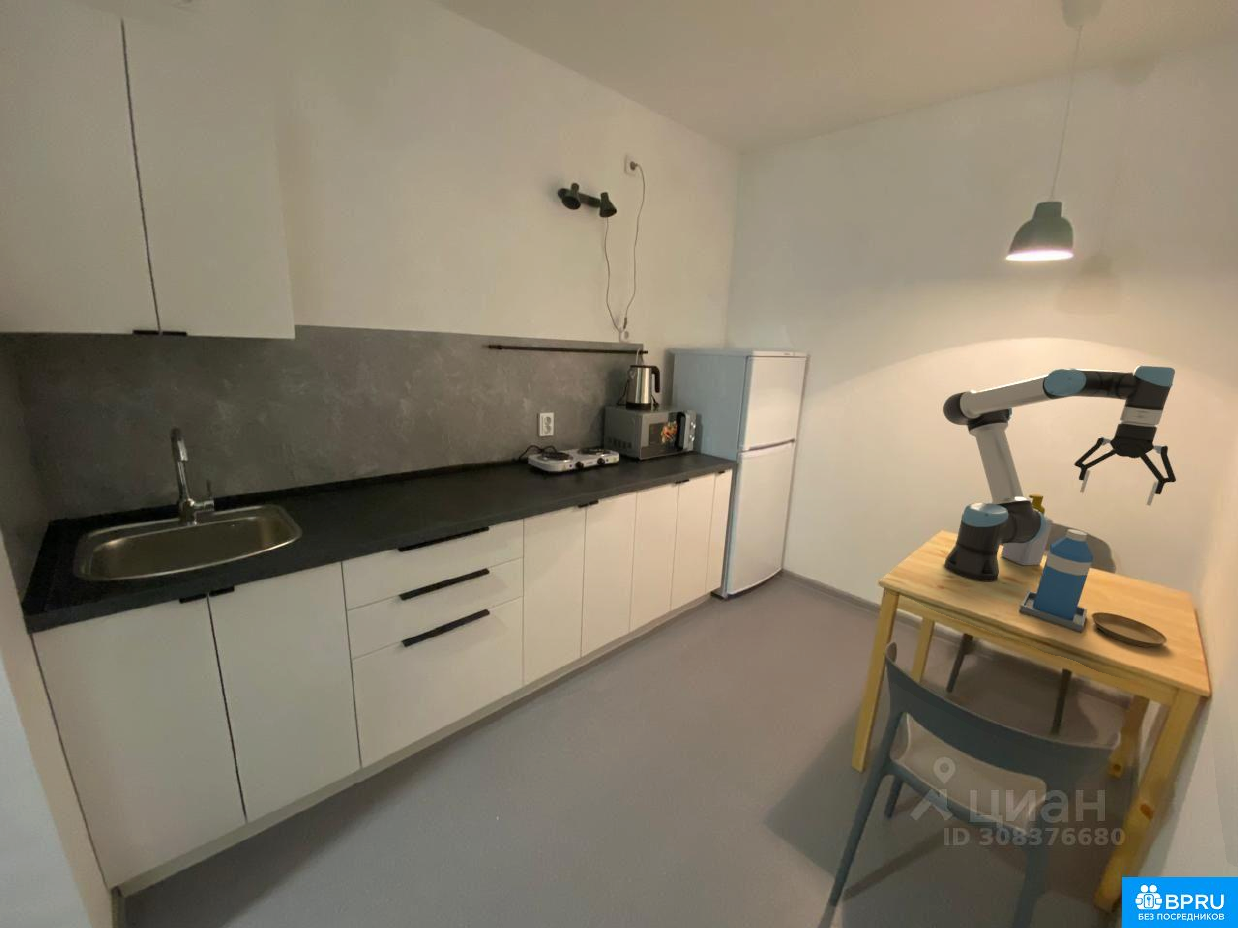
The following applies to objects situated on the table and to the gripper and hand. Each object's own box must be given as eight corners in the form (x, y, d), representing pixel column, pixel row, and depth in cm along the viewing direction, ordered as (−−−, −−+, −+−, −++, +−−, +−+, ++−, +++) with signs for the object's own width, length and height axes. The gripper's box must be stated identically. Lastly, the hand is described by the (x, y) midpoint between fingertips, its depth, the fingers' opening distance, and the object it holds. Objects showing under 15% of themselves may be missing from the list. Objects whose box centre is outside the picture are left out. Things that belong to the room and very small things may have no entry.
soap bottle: (998, 555, 184) (1016, 491, 178) (1017, 554, 186) (1035, 491, 180) (1022, 566, 176) (1042, 499, 169) (1042, 565, 178) (1061, 499, 172)
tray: (1018, 611, 144) (1020, 605, 144) (1026, 597, 153) (1028, 590, 153) (1081, 633, 135) (1083, 626, 134) (1085, 616, 144) (1087, 609, 143)
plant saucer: (1125, 621, 143) (1128, 613, 142) (1180, 653, 128) (1184, 644, 128) (1074, 618, 143) (1077, 610, 142) (1123, 650, 129) (1127, 641, 128)
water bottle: (1081, 623, 139) (1109, 540, 132) (1043, 617, 140) (1069, 535, 134) (1060, 606, 148) (1085, 528, 141) (1025, 601, 149) (1047, 523, 143)
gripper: (1076, 417, 141) (1055, 488, 146) (1208, 433, 124) (1179, 513, 129) (1078, 416, 146) (1058, 484, 151) (1205, 430, 129) (1178, 507, 134)
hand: (1114, 497), depth 140 cm, fingers open, 13 cm apart
